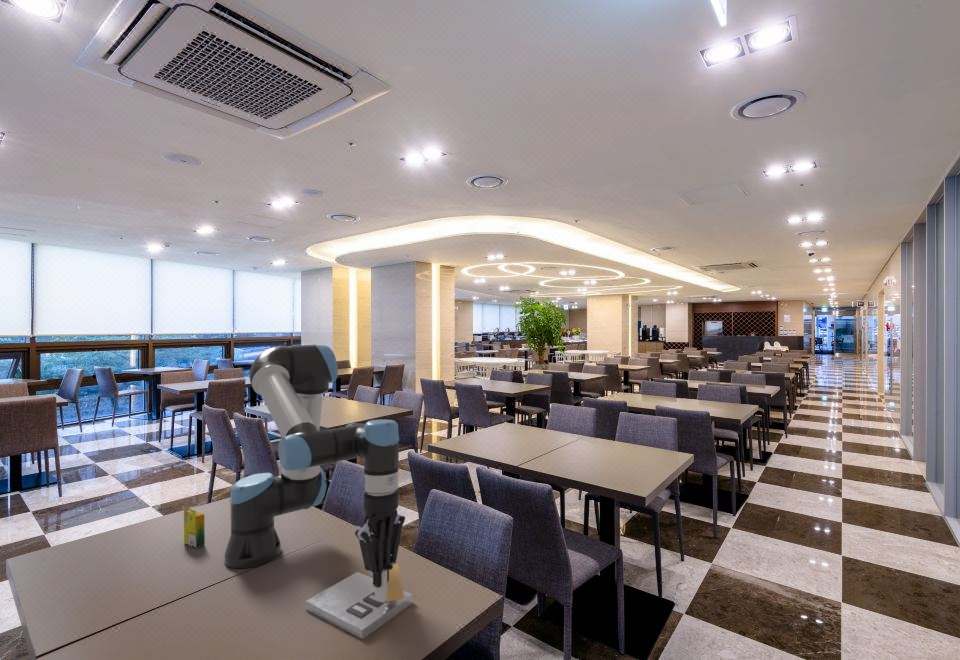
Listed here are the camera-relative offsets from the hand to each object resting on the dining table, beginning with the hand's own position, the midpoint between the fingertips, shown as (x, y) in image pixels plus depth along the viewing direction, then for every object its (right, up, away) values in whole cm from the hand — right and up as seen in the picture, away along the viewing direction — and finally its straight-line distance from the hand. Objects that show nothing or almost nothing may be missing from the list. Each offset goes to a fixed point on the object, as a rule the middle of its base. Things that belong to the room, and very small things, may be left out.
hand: (381, 599), depth 101 cm
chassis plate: (-7, -8, +10) cm, 15 cm away
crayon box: (-70, -9, +46) cm, 84 cm away
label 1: (-6, -6, +5) cm, 10 cm away
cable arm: (+1, 0, +8) cm, 8 cm away
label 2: (-3, -6, +9) cm, 11 cm away
